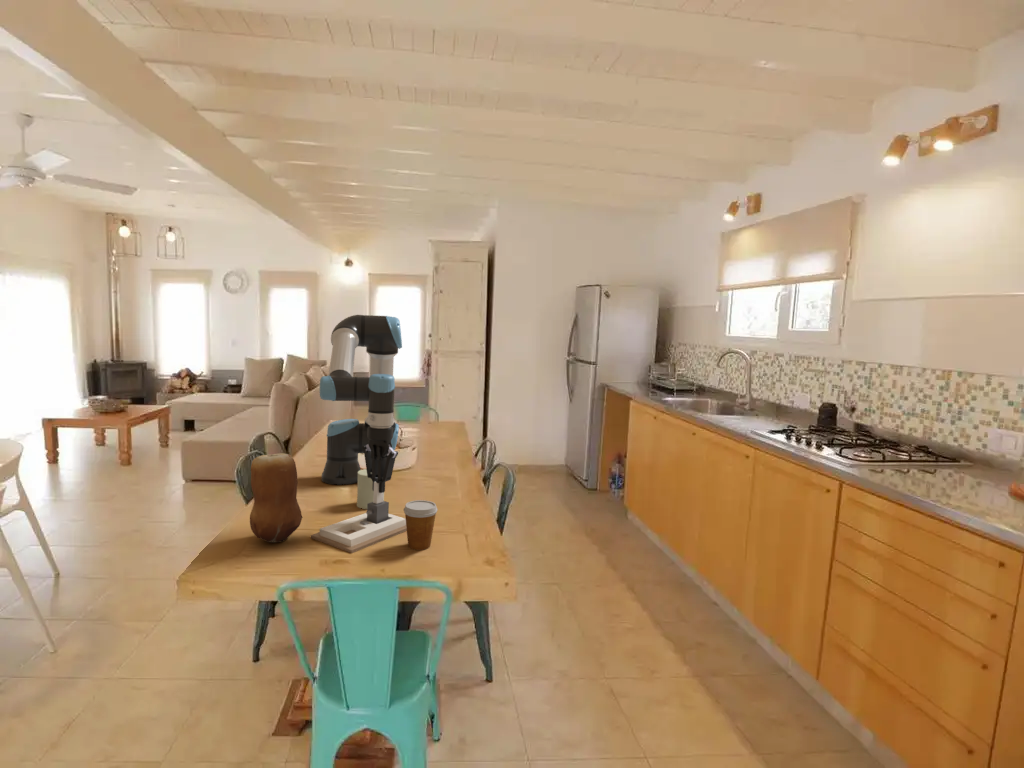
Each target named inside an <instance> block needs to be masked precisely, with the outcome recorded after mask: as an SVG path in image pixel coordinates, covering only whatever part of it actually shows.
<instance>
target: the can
mask: <svg viewBox="0 0 1024 768" xmlns="http://www.w3.org/2000/svg"><path fill="white" fill-rule="evenodd" d="M372 488H373V481H372V479H371V478H368V476H367V470H366V468H364V469H361V470H360V471H358V482H357V491H356V492H357V493H356V495H357V497H356V498H357V500H356V507H357V508H358V509H361V508H362V510H367V504H368V503H371V502H373V497H374V491H373V489H372ZM383 501H385V495H384V496H383Z"/></svg>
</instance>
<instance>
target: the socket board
mask: <svg viewBox="0 0 1024 768" xmlns="http://www.w3.org/2000/svg"><path fill="white" fill-rule="evenodd" d="M405 532H407V528H406V517H401V516H398V515H395V514H391V513H389V512H388V520H386V521H384V522H381V523H378V524H375V523H372V522H368V521H367V514H366V512H364V513H361V514H359V515H356V516H353V517H350V518H347V519H344V520H341V521H338V522H335V523H332V524H329V525H327V526H323V527H320V528H319V532H316V533H313V534H310V539H312V540H316V541H318V542H321V543H323V544H326V545H329V546H331V547H334V548H337V549H339V550H342V551H345V552H348V553H350V554H353V553H354V554H355V553H356V552H358V551H360V550H363V549H365V548H368V547H370V546H374V545H376V544H378V543H380V542H383V541H385V540H387V539H390V538H393V537H395V536H397V535H400V534H402V533H405Z"/></svg>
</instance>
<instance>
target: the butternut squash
mask: <svg viewBox="0 0 1024 768" xmlns="http://www.w3.org/2000/svg"><path fill="white" fill-rule="evenodd" d="M297 470H298V469H297V464H296V461H295V459H294V458H293V457H292V455H290V454H288V453H284V452H283V453H282V452H281V453H279V452H278V453H272V454H262V455H259V456H256V457H255V458H254V459H253V460H252V461H251V466H250V485H251V491H252V494H253V499H254V500H253V506H252V508H251V511H250V514H249V527H250V529H251V532H252V533H253V535H254V536H255V537H256V538H257V539H260V540H263V541H265V542H267V543H283V542H284V541H286V540H287V539H288V538H289V537H290V536H291V535H292V534H293V533H294V532H295V531H296V530H297V529H298V528H299V527H300V525H301V523H302V519H303V516H302V511H301V510H302V509H301V507H300V505H299V502H298V499H297V493H298V471H297Z"/></svg>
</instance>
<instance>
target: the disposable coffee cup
mask: <svg viewBox="0 0 1024 768" xmlns="http://www.w3.org/2000/svg"><path fill="white" fill-rule="evenodd" d="M403 512H404V515H405V517H404V518H405V519H406V528H407V531H406V535H407V536H406V537H407V538H406V539H407V547H408V548H409V549H410V550H416V551H424V550H427V549H430V547H431V543H432V539H433V532H434V525H435V519H436V515H437V512H438V507H437V505H436V502H434V501H430V500H424V499H423V500H422V499H421V500H420V499H417V500H412V501H407V502H406V503H405V505H404V508H403Z"/></svg>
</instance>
